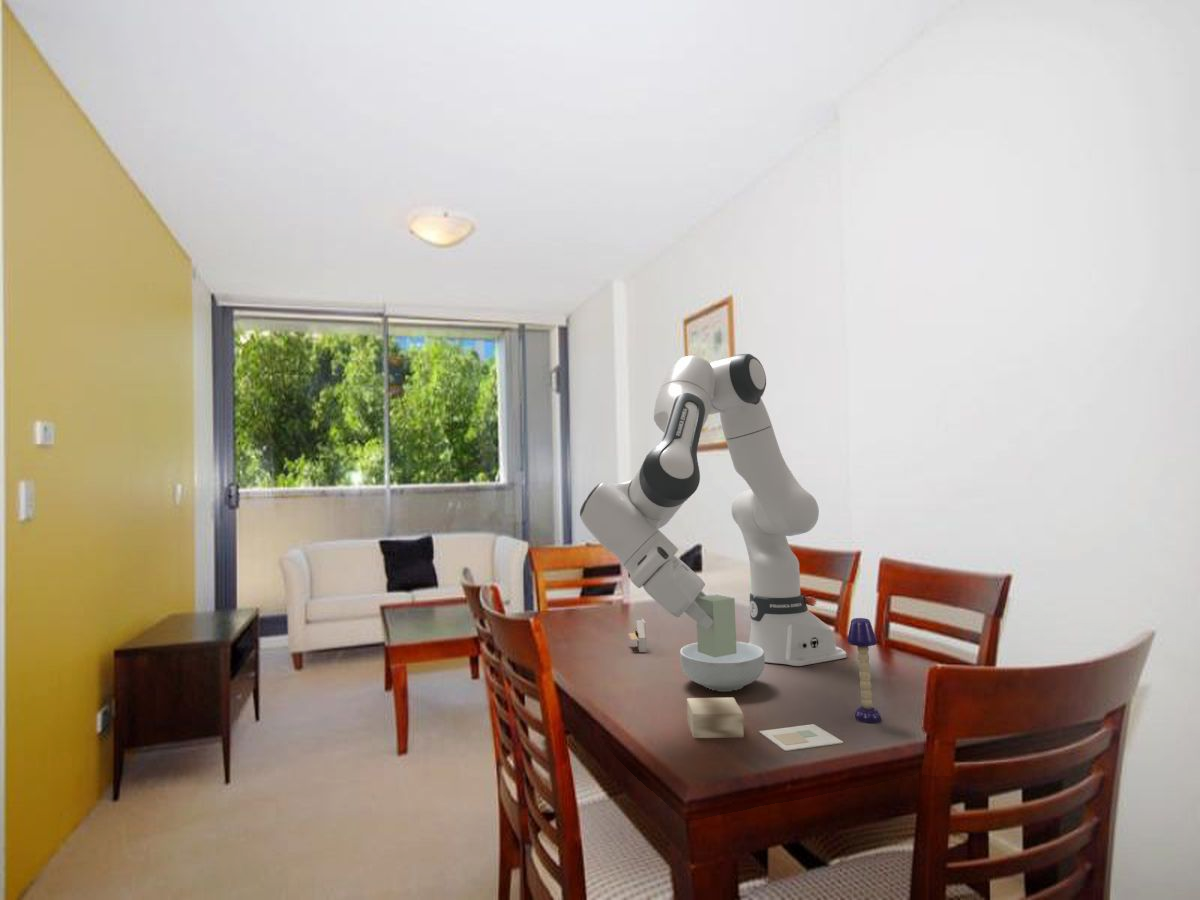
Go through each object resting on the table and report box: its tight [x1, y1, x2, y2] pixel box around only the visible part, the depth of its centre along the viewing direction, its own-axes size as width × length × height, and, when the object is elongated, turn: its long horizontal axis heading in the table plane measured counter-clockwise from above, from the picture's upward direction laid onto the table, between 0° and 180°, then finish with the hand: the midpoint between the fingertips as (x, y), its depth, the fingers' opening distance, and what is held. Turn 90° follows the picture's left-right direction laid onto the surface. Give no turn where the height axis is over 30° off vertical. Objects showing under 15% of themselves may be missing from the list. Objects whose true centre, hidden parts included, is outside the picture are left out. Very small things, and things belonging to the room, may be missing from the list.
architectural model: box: [628, 618, 648, 653], centre depth 165 cm, size 3×7×7 cm, turn 5°
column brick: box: [696, 594, 737, 658], centre depth 112 cm, size 4×4×9 cm
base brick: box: [686, 696, 745, 739], centre depth 111 cm, size 8×8×4 cm
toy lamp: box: [847, 617, 882, 724], centre depth 114 cm, size 5×5×17 cm
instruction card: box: [758, 723, 844, 752], centre depth 106 cm, size 10×8×1 cm
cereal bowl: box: [679, 641, 765, 692], centre depth 134 cm, size 17×17×7 cm
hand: (713, 620), depth 112 cm, fingers closed on column brick, 6 cm apart
